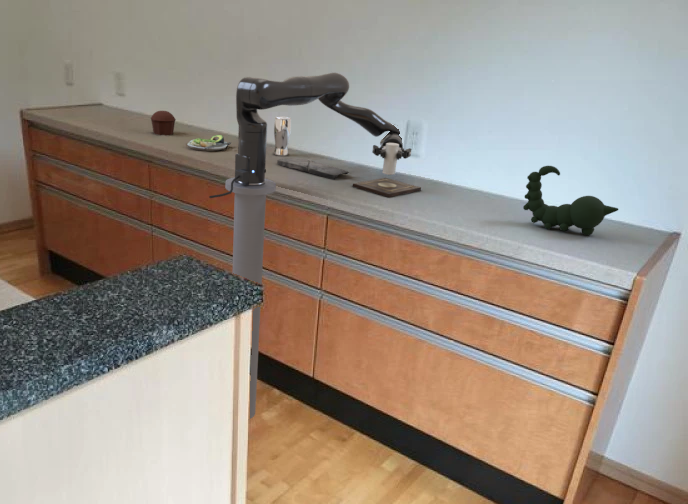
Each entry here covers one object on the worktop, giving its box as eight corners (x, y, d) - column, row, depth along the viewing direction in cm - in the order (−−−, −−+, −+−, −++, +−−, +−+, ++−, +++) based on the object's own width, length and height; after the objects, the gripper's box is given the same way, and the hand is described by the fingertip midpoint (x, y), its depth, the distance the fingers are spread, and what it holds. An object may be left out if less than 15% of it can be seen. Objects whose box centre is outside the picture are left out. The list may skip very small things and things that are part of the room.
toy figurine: (518, 230, 180) (611, 242, 168) (526, 166, 173) (624, 173, 161) (524, 223, 188) (614, 234, 175) (532, 161, 181) (627, 168, 168)
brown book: (388, 197, 200) (388, 193, 199) (352, 186, 210) (352, 182, 210) (420, 190, 211) (421, 186, 211) (385, 180, 222) (385, 177, 221)
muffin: (146, 132, 282) (145, 109, 278) (166, 130, 289) (166, 108, 285) (159, 136, 274) (159, 113, 270) (180, 134, 281) (180, 112, 277)
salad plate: (226, 154, 247) (226, 142, 245) (182, 150, 248) (182, 139, 246) (232, 145, 265) (233, 134, 263) (192, 142, 265) (192, 131, 264)
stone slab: (334, 174, 216) (275, 155, 234) (332, 182, 218) (275, 163, 236) (352, 171, 223) (294, 153, 241) (350, 179, 225) (293, 161, 243)
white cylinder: (389, 175, 206) (393, 145, 202) (379, 172, 209) (383, 143, 205) (397, 173, 209) (401, 144, 205) (387, 171, 212) (391, 142, 207)
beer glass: (291, 156, 252) (293, 119, 246) (275, 156, 250) (277, 118, 244) (285, 152, 258) (288, 116, 252) (270, 152, 256) (272, 116, 249)
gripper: (373, 134, 218) (371, 142, 203) (413, 138, 216) (414, 146, 201) (371, 155, 221) (368, 164, 206) (410, 159, 219) (410, 169, 204)
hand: (391, 155), depth 204 cm, fingers closed on white cylinder, 4 cm apart
